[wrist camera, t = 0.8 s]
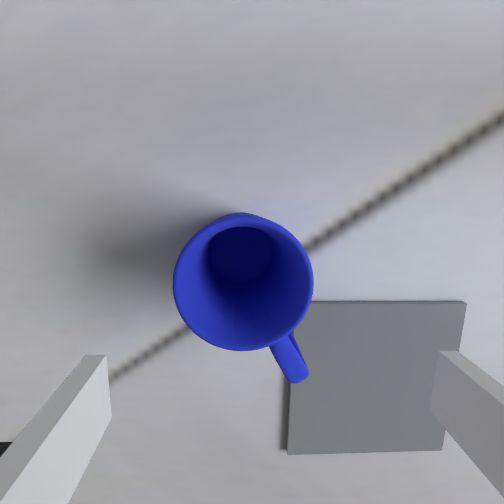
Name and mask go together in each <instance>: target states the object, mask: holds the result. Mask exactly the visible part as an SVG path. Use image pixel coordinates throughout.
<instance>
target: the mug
mask: <svg viewBox="0 0 504 504" xmlns="http://www.w3.org/2000/svg"><path fill="white" fill-rule="evenodd" d="M313 283H314V281H313V271H312V267H311V263H310V260H309V258H308V256H307V253H306V252H305V250H304V248H303V247H302V245H301V244H300V242H299V241H298V240H297V239H296V238H295V237H294V236H293V235H292V234H291V233H290V232H289V231H287V230H286V229H285V228H283V227H282V226H280V225H278V224H276V223H274V222H272V221H270V220H267V219H264V218H262V217H259V216H256V215H253V214H249V213H232V214H228V215H225V216H223V217H221V218H219V219H217V220H216V221H214V222H212V223H211V224H209V225H208V226H206V227H204V228H203V229H201V230H200V231H199V232H197V233H196V234H195V235H194V236H193V237H192V238H191V239H190V240H189V241H188V243H187V244H186V245H185V247H184V248H183V250H182V252H181V253H180V255H179V257H178V260H177V262H176V266H175V269H174V274H173V294H174V299H175V303H176V306H177V309H178V311H179V313H180V315H181V317H182V319H183V320H184V322H185V323H186V324H187V326H188V327H189V328H190V329H191V330H192V331H193V332H194V333H195V334H196V335H197V336H199V337H200V338H201V339H203V340H205V341H206V342H208V343H210V344H212V345H215V346H217V347H220V348H224V349H227V350H233V351H251V350H257V349H261V348H265V347H268V346H269V347H270V350H271V352H272V354H273V356H274V358H275V359H276V361H277V363H278V365H279V366H280V368H281V370H282V371H283V373H284V375H285V376H286V378H287V379H288V381H289V382H290V383H292V384H296V383H299V382H301V381H303V380H304V379H306V378H307V377H308V376H309V370H308V367H307V365H306V363H305V361H304V358H303V356H302V354H301V351H300V349H299V347H298V345H297V343H296V340H295V338H294V336H293V334H292V331H293V330H294V329H295V328H296V327H297V326H298V324H299V323H300V322H301V321H302V319H303V317H304V316H305V314H306V312H307V310H308V308H309V305H310V302H311V299H312V294H313Z"/></svg>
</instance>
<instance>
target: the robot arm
mask: <svg viewBox="0 0 504 504" xmlns="http://www.w3.org/2000/svg"><path fill="white" fill-rule="evenodd" d="M429 410H430V412H431V413H432V414H433V415H434V416H435V417H436V419H437V420H438V421H439V422H440V423H441V425H442V426H443V427H444V428H445V429H446V430H447V432H448V433H449V434H450V435H451V436H452V437H453V439H454V440H455V441H456V442H457V443H458V445H459V446H460V447H461V448H462V449H463V450H464V452H465V453H466V454H467V455H468V456H469V458H470V459H471V460H472V461H473V462H474V463H475V465H476V466H477V467H478V468H479V469H480V470H481V472H482V473H483V474H484V475H485V476H486V478H487V479H488V480H489V481H490V482H491V483H492V485H493V486H494V487H495V488H496V489H497V491H498V492H499V493H500V494H501V495H502V496H503V498H504V386H502V385H501V384H500V383H498V382H497V381H496V380H494V379H493V378H492V377H491V376H489V375H488V374H487V373H485V372H484V371H483V370H481V369H480V368H479V367H478V366H476V365H475V364H474V363H472V362H471V361H470V360H468V359H467V358H466V357H465V356H463V355H462V354H461V353H459V352H458V351H438V358H437V364H436V371H435V377H434V383H433V390H432V396H431V403H430V409H429ZM111 418H112V416H111V405H110V393H109V381H108V370H107V358H106V355H85V357H84V358H83V359H82V360H81V361H80V363H79V364H78V365H77V366H76V367H75V369H74V370H73V371H72V372H71V373H70V375H69V376H68V377H67V378H66V379H65V380H64V382H63V383H62V384H61V385H60V386H59V388H58V389H57V390H56V391H55V392H54V394H53V395H52V396H51V397H50V398H49V400H48V401H47V402H46V403H45V404H44V406H43V407H42V408H41V409H40V410H39V412H38V413H37V414H36V415H35V416H34V418H33V419H32V420H31V421H30V422H29V423H28V425H27V426H26V427H25V428H24V429H23V431H22V432H21V433H20V434H19V435H18V437H17V438H16V439H15V440H14V441H13V442H0V504H68V503H69V501H70V499H71V497H72V495H73V493H74V491H75V489H76V487H77V485H78V483H79V481H80V479H81V477H82V475H83V473H84V471H85V469H86V467H87V465H88V463H89V461H90V459H91V457H92V455H93V453H94V451H95V449H96V447H97V446H98V444H99V442H100V440H101V438H102V436H103V434H104V432H105V430H106V428H107V426H108V424H109V422H110V420H111Z"/></svg>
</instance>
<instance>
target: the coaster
mask: <svg viewBox="0 0 504 504" xmlns="http://www.w3.org/2000/svg"><path fill="white" fill-rule="evenodd" d="M466 306H467V303H465V302H463V301H311V302H310V305H309V308H308V310H307V312H306V314H305V316H304V317H303V319H302V321H301V322H300V323H299V324H298V326H297V327H296V328H295V329H294V330H293V332H292V334H293V336H294V338H295V340H296V343H297V345H298V347H299V349H300V351H301V354H302V356H303V358H304V361H305V363H306V365H307V367H308V370H309V376H308V377H307V378H306V379H304V380H303V381H301V382H299V383H296V384H292V383H290V391H289V411H288V430H287V455H300V454H334V453H369V452H404V451H439V450H442V446H443V441H444V435H445V428H444V427H443V426H442V425H441V423H440V422H439V421H438V420H437V419H436V417H435V416H434V415H433V414H432V413H431V412H430V410H429V409H430V403H431V396H432V390H433V383H434V377H435V371H436V364H437V358H438V351H458V352H459V347H460V341H461V335H462V329H463V324H464V318H465V312H466Z"/></svg>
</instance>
